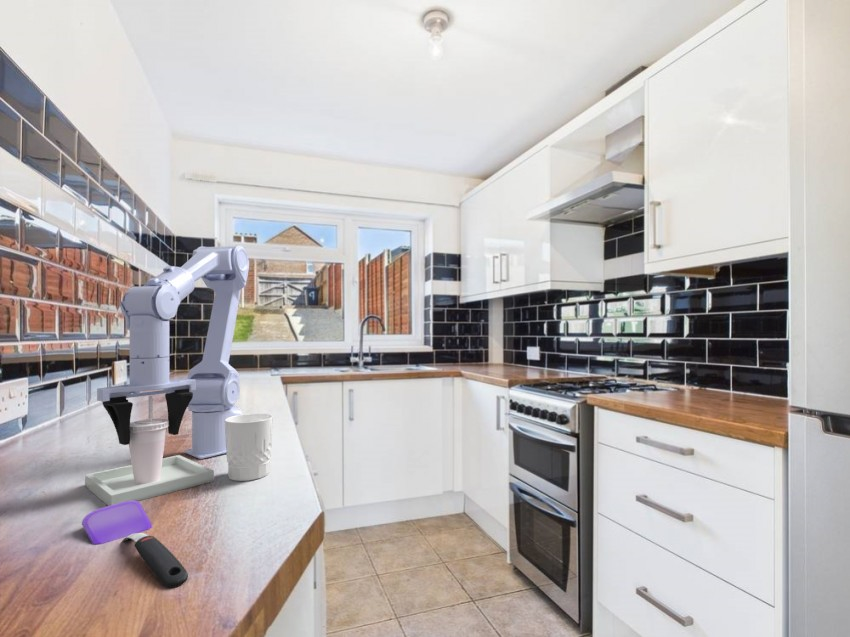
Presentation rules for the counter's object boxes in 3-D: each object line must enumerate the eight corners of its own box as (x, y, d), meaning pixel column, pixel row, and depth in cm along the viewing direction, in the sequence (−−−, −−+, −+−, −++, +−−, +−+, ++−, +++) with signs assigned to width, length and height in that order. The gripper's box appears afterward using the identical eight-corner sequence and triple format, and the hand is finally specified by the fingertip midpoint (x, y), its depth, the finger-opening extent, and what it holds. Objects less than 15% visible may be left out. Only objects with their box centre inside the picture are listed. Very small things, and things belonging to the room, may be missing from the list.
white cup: (281, 474, 79) (281, 417, 79) (237, 486, 73) (236, 424, 73) (259, 465, 84) (259, 411, 84) (217, 475, 78) (216, 418, 79)
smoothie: (153, 486, 72) (153, 399, 72) (114, 486, 72) (114, 399, 73) (177, 473, 78) (177, 393, 79) (141, 473, 79) (141, 393, 79)
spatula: (212, 576, 47) (212, 553, 47) (139, 608, 42) (139, 581, 42) (137, 515, 63) (137, 497, 63) (77, 532, 58) (77, 513, 58)
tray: (179, 464, 85) (179, 454, 85) (213, 481, 76) (213, 470, 76) (84, 485, 74) (84, 474, 74) (111, 508, 65) (111, 495, 65)
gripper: (181, 354, 84) (181, 427, 83) (89, 359, 72) (89, 445, 71) (201, 355, 80) (202, 432, 79) (108, 360, 68) (107, 451, 67)
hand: (149, 438), depth 75 cm, fingers open, 7 cm apart
